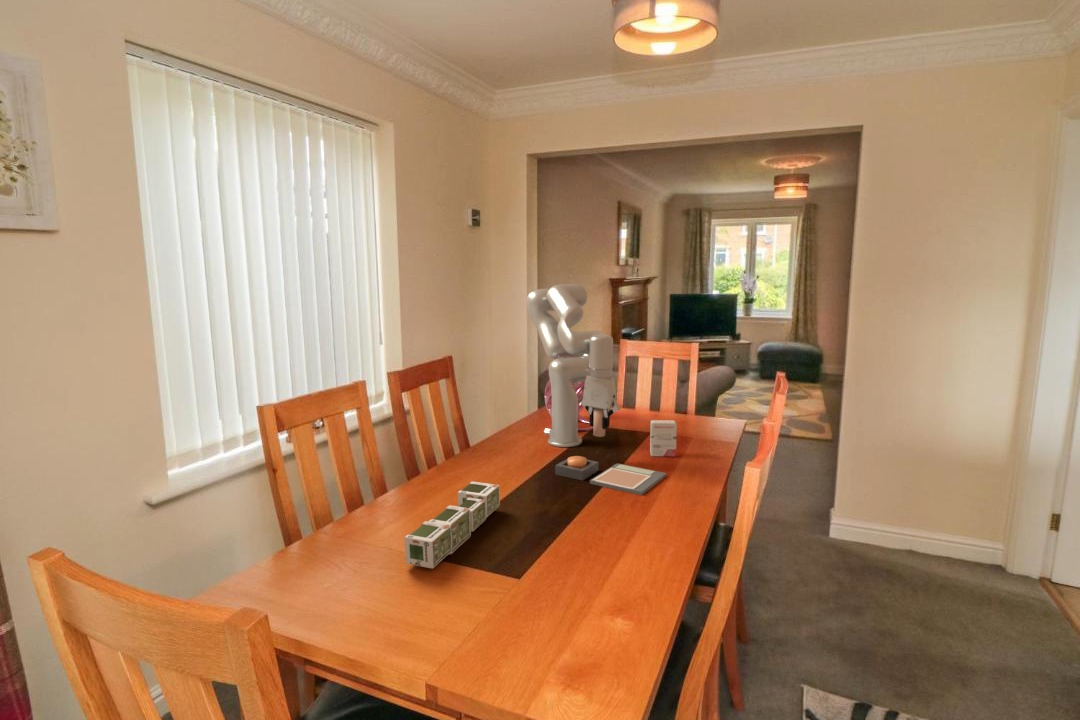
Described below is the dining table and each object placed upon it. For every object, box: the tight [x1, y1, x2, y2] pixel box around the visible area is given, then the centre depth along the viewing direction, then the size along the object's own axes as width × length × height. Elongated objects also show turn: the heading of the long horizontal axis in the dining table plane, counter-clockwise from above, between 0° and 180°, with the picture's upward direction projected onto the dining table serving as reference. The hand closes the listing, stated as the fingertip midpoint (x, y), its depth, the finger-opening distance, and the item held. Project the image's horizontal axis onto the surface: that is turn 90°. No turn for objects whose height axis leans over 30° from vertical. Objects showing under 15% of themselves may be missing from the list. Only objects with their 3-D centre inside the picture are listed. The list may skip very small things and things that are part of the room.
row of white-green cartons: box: [404, 481, 501, 569], centre depth 145 cm, size 35×8×7 cm, turn 159°
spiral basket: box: [544, 379, 593, 432], centre depth 238 cm, size 28×28×27 cm
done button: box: [567, 455, 588, 469], centre depth 188 cm, size 6×6×2 cm
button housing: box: [554, 458, 600, 481], centre depth 188 cm, size 10×10×3 cm
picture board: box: [589, 462, 667, 496], centre depth 181 cm, size 17×18×1 cm
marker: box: [592, 407, 606, 438], centre depth 195 cm, size 4×4×12 cm
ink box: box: [649, 419, 678, 457], centre depth 204 cm, size 9×5×12 cm, turn 84°
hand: (599, 426), depth 196 cm, fingers closed on marker, 4 cm apart
